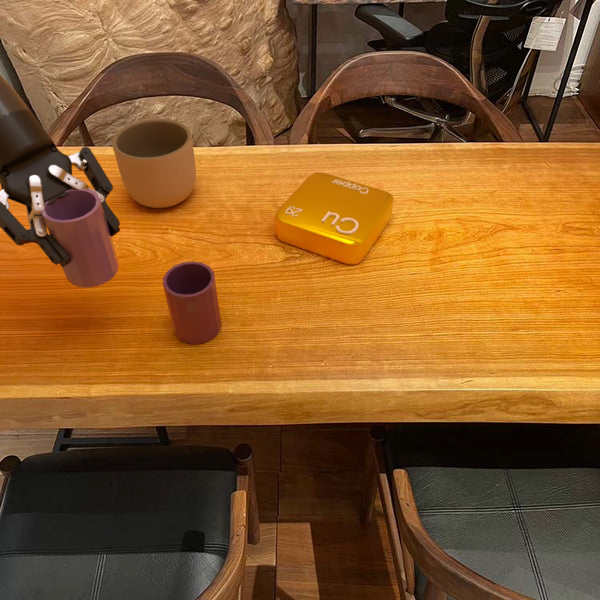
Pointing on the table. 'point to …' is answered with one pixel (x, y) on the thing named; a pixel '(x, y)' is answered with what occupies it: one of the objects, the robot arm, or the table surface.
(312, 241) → the element tile
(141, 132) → the planter
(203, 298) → the plum cup
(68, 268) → the lilac cup
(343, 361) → the table surface
